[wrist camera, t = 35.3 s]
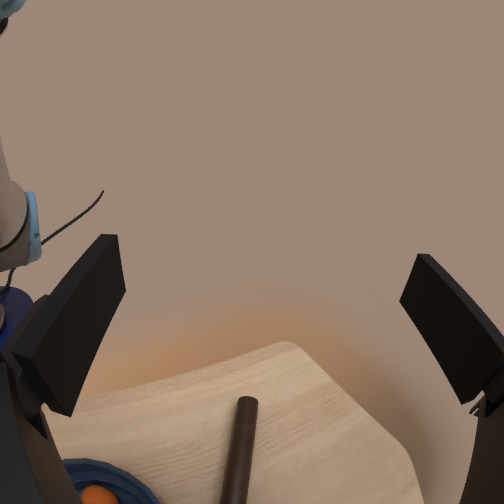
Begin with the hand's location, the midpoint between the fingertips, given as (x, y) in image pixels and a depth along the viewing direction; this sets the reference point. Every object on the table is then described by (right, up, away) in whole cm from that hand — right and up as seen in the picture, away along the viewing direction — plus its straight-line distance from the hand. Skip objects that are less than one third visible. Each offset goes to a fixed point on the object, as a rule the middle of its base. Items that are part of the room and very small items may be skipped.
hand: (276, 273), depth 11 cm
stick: (-1, -18, +21) cm, 27 cm away
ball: (-16, -24, +4) cm, 29 cm away
